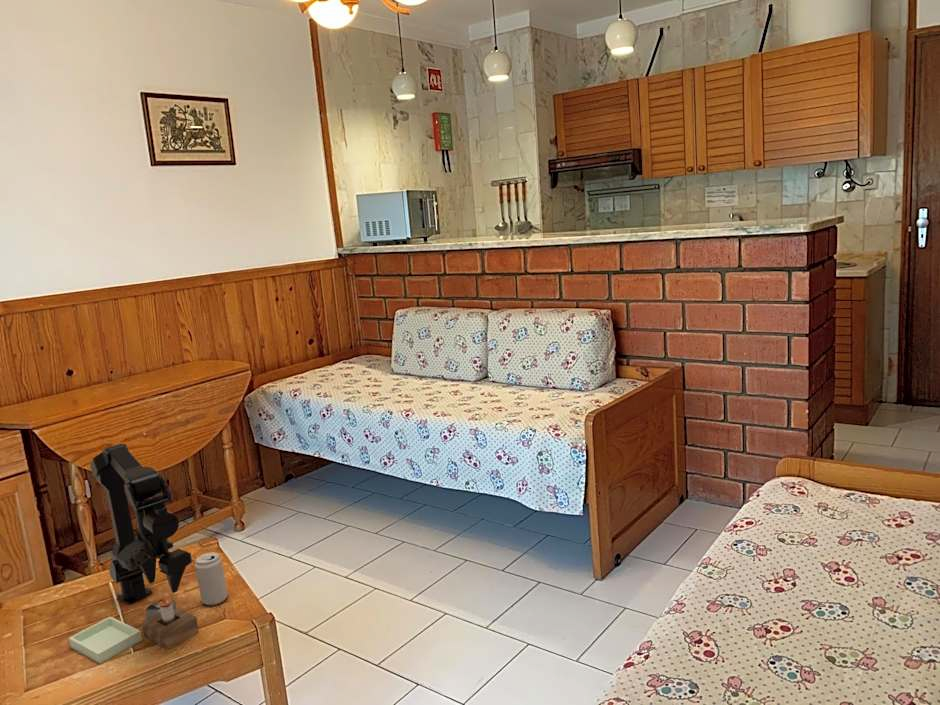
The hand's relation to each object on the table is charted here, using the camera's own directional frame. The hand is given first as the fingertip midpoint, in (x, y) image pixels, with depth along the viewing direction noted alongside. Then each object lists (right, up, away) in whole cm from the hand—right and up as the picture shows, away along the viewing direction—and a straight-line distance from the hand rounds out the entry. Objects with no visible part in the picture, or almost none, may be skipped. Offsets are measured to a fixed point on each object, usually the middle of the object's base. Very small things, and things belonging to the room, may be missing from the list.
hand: (163, 587), depth 174 cm
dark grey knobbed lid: (-5, -11, +11) cm, 16 cm away
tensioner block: (+1, -12, +2) cm, 12 cm away
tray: (-14, -14, +1) cm, 19 cm away
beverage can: (+6, -9, +17) cm, 20 cm away
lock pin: (+1, -12, +2) cm, 12 cm away
